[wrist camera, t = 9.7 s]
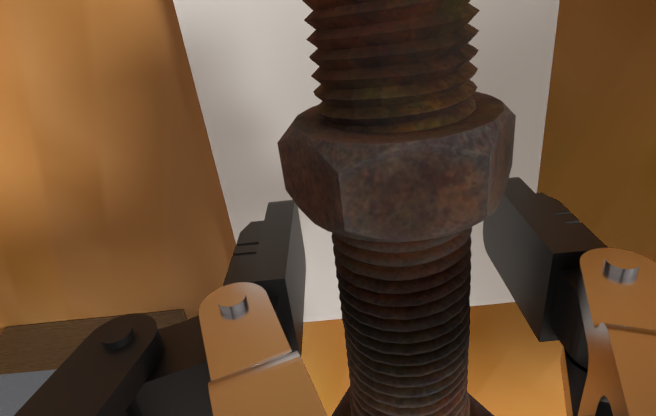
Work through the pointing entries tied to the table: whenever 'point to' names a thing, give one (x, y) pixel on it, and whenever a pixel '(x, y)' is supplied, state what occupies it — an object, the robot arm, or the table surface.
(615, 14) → the table surface
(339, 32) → the bolt
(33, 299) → the table surface
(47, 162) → the table surface
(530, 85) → the board
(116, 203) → the table surface
